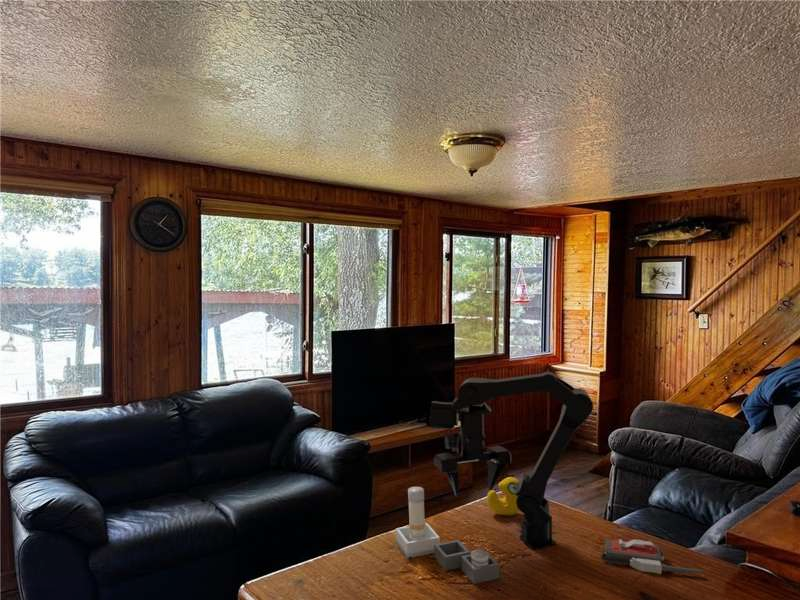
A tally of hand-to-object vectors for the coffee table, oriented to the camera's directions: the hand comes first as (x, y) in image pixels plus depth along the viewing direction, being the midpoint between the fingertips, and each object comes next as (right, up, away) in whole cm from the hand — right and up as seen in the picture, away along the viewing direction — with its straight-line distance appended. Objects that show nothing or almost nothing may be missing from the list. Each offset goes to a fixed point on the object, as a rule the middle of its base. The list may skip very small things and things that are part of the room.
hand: (473, 492), depth 137 cm
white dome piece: (-1, -12, -17) cm, 20 cm away
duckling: (+11, -10, +13) cm, 20 cm away
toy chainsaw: (+37, -11, -14) cm, 41 cm away
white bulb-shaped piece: (-14, -11, -4) cm, 18 cm away
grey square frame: (-6, -12, -11) cm, 17 cm away
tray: (-14, -12, -4) cm, 19 cm away
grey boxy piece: (-1, -12, -17) cm, 20 cm away
